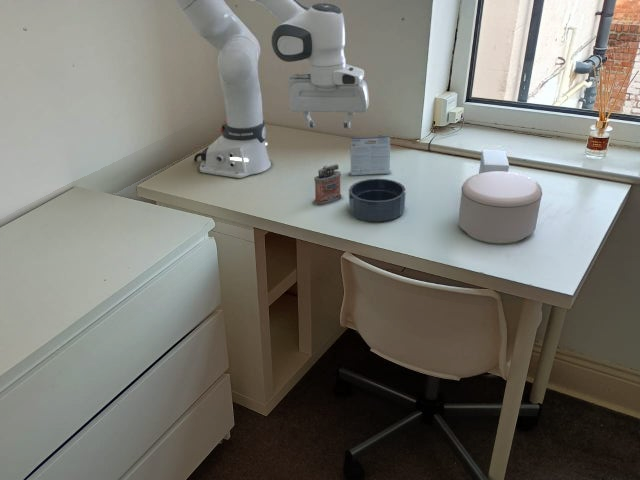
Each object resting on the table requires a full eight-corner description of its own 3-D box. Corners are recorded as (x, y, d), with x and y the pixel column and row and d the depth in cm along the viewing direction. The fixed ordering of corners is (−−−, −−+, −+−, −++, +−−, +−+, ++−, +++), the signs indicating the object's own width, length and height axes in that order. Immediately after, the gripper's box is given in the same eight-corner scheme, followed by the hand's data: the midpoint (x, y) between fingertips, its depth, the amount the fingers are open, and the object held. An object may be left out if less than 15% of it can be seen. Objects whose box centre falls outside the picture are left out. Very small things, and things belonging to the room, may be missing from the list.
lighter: (319, 206, 183) (318, 172, 177) (312, 202, 185) (311, 168, 180) (343, 198, 185) (343, 164, 180) (336, 194, 188) (336, 161, 182)
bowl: (344, 220, 175) (344, 199, 171) (354, 197, 186) (354, 177, 182) (400, 225, 170) (401, 203, 167) (407, 200, 181) (408, 180, 178)
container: (462, 209, 175) (467, 166, 168) (536, 216, 168) (544, 172, 162) (452, 241, 161) (457, 197, 155) (533, 250, 155) (541, 204, 148)
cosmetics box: (504, 202, 176) (509, 164, 170) (478, 201, 177) (483, 164, 171) (501, 185, 184) (506, 149, 178) (476, 185, 186) (480, 149, 180)
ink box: (389, 171, 199) (390, 133, 192) (389, 174, 197) (391, 136, 190) (349, 172, 200) (350, 135, 194) (350, 175, 198) (350, 138, 192)
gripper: (284, 77, 168) (287, 131, 176) (365, 77, 162) (365, 132, 169) (291, 70, 173) (294, 122, 181) (370, 70, 167) (369, 124, 174)
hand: (329, 127), depth 175 cm, fingers open, 8 cm apart
